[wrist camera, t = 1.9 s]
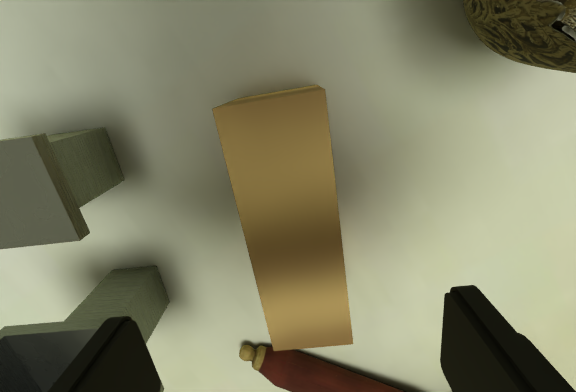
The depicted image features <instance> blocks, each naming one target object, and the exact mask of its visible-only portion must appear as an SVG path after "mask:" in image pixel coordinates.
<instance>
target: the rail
mask: <svg viewBox="0 0 576 392" xmlns="http://www.w3.org/2000/svg"><path fill="white" fill-rule="evenodd" d="M212 110H213V114H214V118H215V122H216V126H217V130H218V134H219V138H220V142H221V146H222V150H223V153H224V157H225V161H226V165H227V169H228V173H229V177H230V181H231V185H232V189H233V193H234V197H235V201H236V205H237V209H238V212H239V216H240V220H241V224H242V228H243V232H244V236H245V240H246V244H247V248H248V252H249V256H250V260H251V264H252V268H253V271H254V275H255V279H256V283H257V287H258V291H259V295H260V299H261V303H262V307H263V311H264V315H265V319H266V323H267V327H268V330H269V334H270V338H271V342H272V346H273V350H274V351H281V350H292V349H303V348H315V347H326V346H337V345H348V344H353V338H352V329H351V320H350V311H349V302H348V293H347V284H346V275H345V266H344V257H343V248H342V239H341V230H340V221H339V211H338V202H337V193H336V184H335V175H334V166H333V157H332V148H331V139H330V130H329V121H328V112H327V103H326V94H325V89H323V88H322V87H320V86H318V85H312V86H307V87H301V88H295V89H289V90H284V91H278V92H272V93H267V94H261V95H255V96H249V97H244V98H238V99H236V100H233V101H231V102H228V103H226V104H223V105H221V106H218V107H216V108H213V109H212Z"/></svg>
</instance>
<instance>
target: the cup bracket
mask: <svg viewBox="0 0 576 392" xmlns="http://www.w3.org/2000/svg"><path fill="white" fill-rule="evenodd" d="M168 304H169V299H168V296H167V294H166V291H165V288H164V286H163V283H162V280H161V277H160V275H159V272H158V269H157V267H156V266H150V267H139V268H129V269H119V270H112V271H111V272H110V273H109V274H108V275H107V276H106V277H105V279H104V280H103V281H102V282H101V283H100V284H99V285H98V286H97V287H96V288H95V289H94V290H93V291H92V292H91V293H90V294H89V295H88V296H87V298H86V299H85V300H84V301H83V302H82V303H81V304H80V305H79V306H78V307H77V308H76V309H75V310H74V311H73V312H72V313H71V314H70V315H69V317H68V318H67V319H66V320H65V321H64V322H52V323H40V324H28V325H16V326H5V327H3V328H2V329H1V330H0V392H48V390H49V389H50V388H51V387H52V386H53V384H54V383H55V382H56V381H57V379H58V378H59V377H60V376H61V374H62V373H63V372H64V371H65V369H66V368H67V367H68V366H69V365H70V363H71V362H72V361H73V360H74V358H75V357H76V356H77V355H78V353H79V352H80V351H81V350H82V348H83V347H84V346H85V345H86V344H87V342H88V341H89V340H90V339H91V337H92V336H93V335H94V334H95V332H96V331H97V330H98V329H99V327H100V326H101V325H102V324H103V322H104V321H105V320H106V319H108V318H110V317H121V316H129V317H131V318H132V320H134V321H136V322H137V324H138V327H139V329H140V332H141V334H142V336H143V339H144V341H145V344H146V343H147V341H148V339H149V338H150V336H151V334H152V332H153V331H154V329H155V327H156V325H157V324H158V322H159V320H160V318H161V316H162V315H163V313H164V311H165V309H166V308H167V306H168ZM160 381H161V380H160ZM163 391H164V387H163V385H162V382H161V388H160V392H163Z"/></svg>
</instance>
